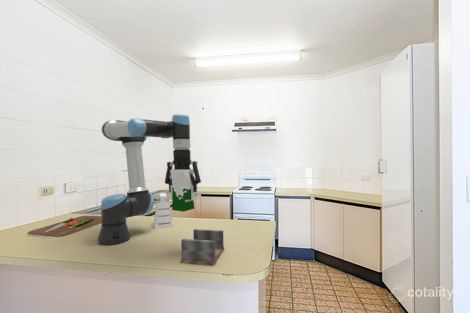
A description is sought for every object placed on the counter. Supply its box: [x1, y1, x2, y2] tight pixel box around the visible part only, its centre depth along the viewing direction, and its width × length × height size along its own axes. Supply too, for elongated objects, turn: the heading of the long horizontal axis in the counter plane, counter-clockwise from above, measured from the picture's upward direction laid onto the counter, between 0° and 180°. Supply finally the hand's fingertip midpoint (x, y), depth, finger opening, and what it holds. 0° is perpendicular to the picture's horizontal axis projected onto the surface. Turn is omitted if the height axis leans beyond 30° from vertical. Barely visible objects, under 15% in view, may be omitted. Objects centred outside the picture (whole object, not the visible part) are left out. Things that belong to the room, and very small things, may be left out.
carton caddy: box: [180, 228, 225, 267], centre depth 107 cm, size 14×17×9 cm
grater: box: [153, 192, 174, 230], centre depth 153 cm, size 10×10×20 cm
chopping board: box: [26, 215, 102, 239], centre depth 157 cm, size 45×27×3 cm, turn 166°
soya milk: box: [170, 165, 196, 212], centre depth 109 cm, size 9×9×20 cm
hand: (183, 199), depth 109 cm, fingers closed on soya milk, 9 cm apart
